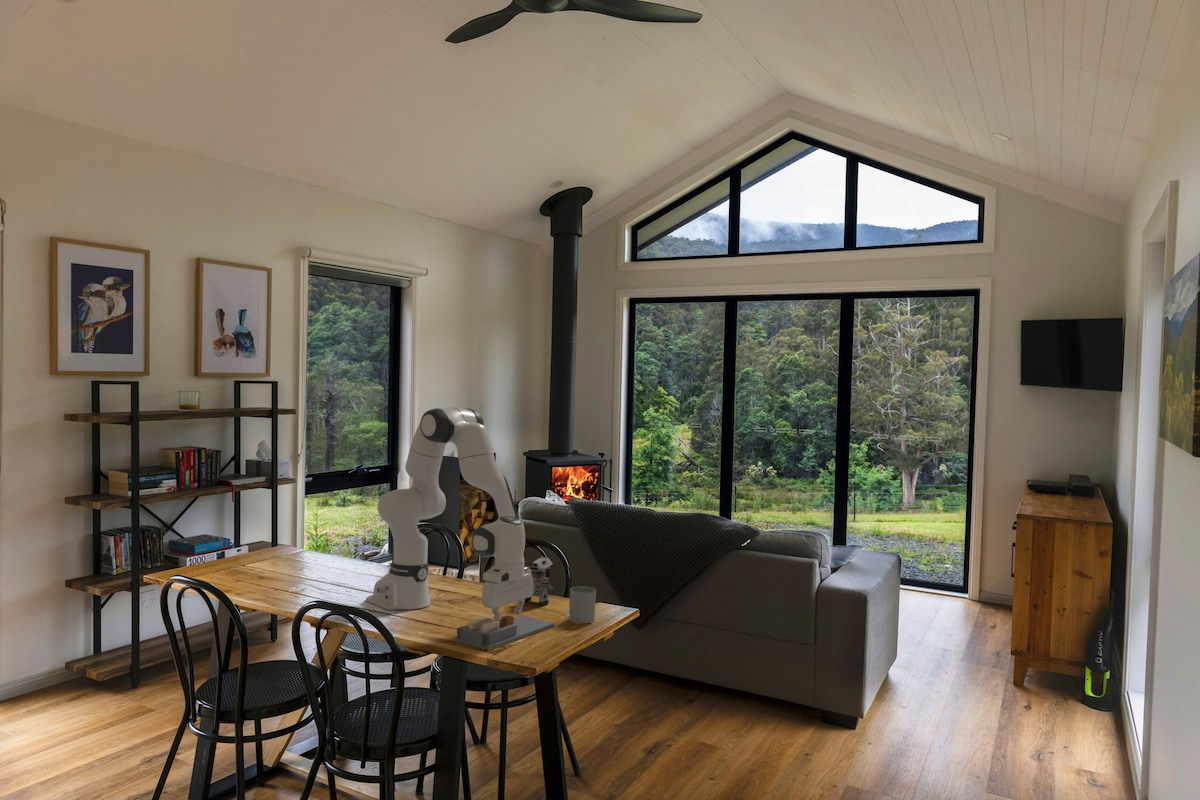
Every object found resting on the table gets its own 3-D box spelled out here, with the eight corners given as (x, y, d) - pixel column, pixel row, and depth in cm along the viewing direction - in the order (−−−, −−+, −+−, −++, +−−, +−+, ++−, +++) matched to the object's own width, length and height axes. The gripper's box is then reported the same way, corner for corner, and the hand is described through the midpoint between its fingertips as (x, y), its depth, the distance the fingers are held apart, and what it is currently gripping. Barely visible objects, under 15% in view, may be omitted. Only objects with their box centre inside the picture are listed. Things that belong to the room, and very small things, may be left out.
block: (468, 638, 237) (468, 621, 237) (501, 627, 249) (502, 610, 249) (483, 642, 233) (484, 625, 233) (517, 631, 246) (517, 614, 246)
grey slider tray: (454, 641, 237) (454, 627, 237) (521, 618, 263) (522, 606, 263) (488, 650, 230) (488, 636, 230) (554, 626, 256) (554, 613, 256)
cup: (600, 620, 264) (601, 590, 264) (582, 625, 258) (583, 594, 258) (580, 615, 270) (582, 585, 270) (563, 619, 264) (564, 588, 264)
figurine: (558, 601, 286) (560, 558, 286) (538, 607, 277) (539, 563, 276) (538, 596, 291) (540, 554, 291) (517, 602, 282) (519, 559, 282)
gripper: (523, 564, 256) (521, 608, 256) (479, 575, 239) (477, 622, 239) (538, 567, 253) (537, 611, 253) (495, 578, 236) (494, 626, 236)
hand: (508, 617), depth 246 cm, fingers open, 8 cm apart
